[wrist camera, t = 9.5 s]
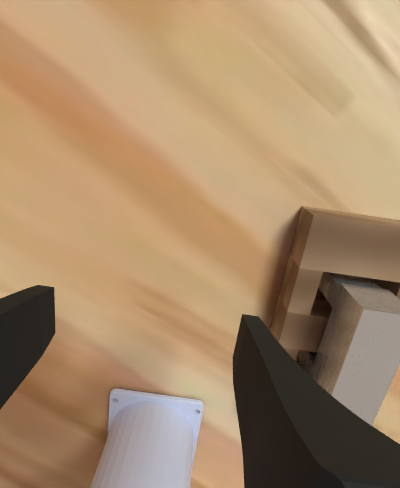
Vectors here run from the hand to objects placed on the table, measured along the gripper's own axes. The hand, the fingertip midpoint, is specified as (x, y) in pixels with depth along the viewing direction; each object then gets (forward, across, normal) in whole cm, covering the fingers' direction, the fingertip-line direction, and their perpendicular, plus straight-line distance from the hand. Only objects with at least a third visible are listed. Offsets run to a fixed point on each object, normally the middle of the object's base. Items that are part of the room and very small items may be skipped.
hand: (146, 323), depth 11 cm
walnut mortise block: (+10, -12, +4) cm, 16 cm away
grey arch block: (+10, -12, +4) cm, 16 cm away
